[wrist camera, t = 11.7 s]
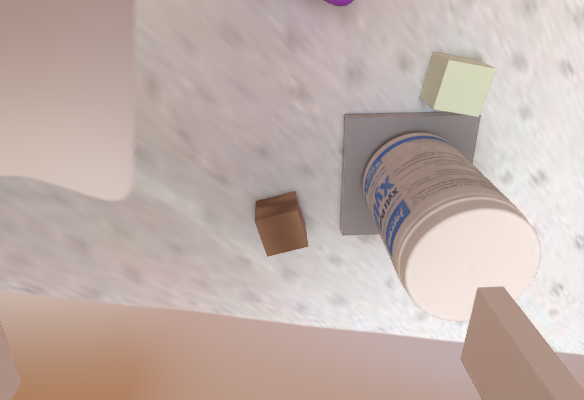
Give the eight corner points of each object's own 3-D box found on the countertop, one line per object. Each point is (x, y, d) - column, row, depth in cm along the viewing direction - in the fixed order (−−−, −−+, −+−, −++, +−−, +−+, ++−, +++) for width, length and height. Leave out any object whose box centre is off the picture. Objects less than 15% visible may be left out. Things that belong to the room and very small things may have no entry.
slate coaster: (340, 229, 48) (341, 235, 47) (344, 114, 42) (346, 118, 41) (456, 225, 48) (460, 231, 47) (475, 111, 43) (480, 115, 42)
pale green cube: (418, 97, 42) (433, 109, 39) (432, 51, 40) (448, 59, 37) (460, 104, 43) (478, 116, 39) (476, 59, 41) (496, 68, 37)
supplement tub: (347, 151, 43) (384, 234, 30) (449, 113, 42) (534, 182, 28) (377, 235, 47) (421, 341, 34) (470, 203, 46) (553, 299, 33)
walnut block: (267, 234, 48) (267, 256, 44) (255, 201, 46) (254, 220, 42) (305, 225, 47) (308, 246, 44) (295, 191, 46) (297, 210, 42)
